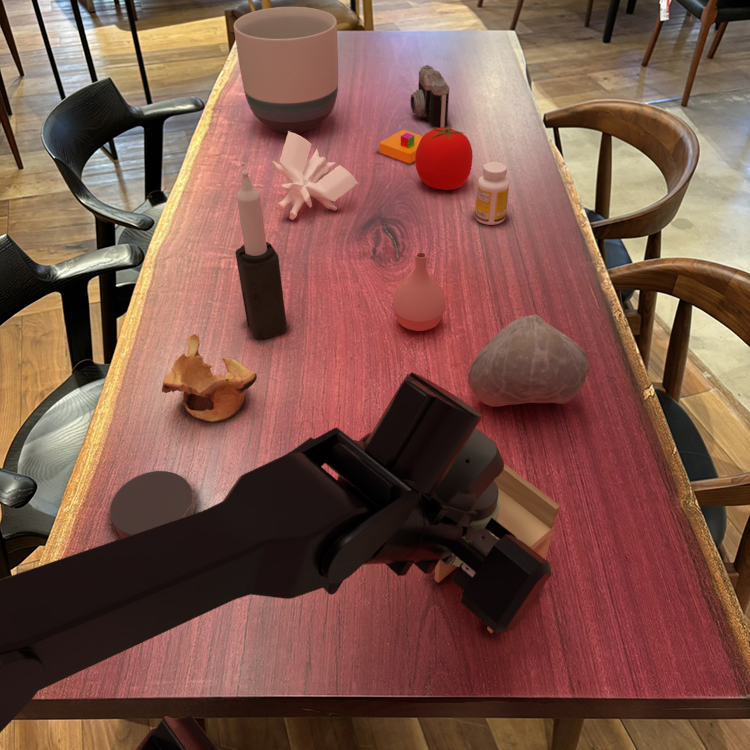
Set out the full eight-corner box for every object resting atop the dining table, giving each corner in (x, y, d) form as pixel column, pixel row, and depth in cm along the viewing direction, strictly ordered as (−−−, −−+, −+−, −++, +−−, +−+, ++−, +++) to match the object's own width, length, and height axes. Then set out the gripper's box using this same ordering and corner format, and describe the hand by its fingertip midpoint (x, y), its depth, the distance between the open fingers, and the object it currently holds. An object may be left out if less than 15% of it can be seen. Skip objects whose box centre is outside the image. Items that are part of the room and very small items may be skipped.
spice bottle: (481, 576, 62) (491, 521, 56) (430, 556, 63) (434, 500, 58) (498, 534, 65) (509, 478, 60) (449, 516, 67) (455, 459, 61)
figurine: (311, 250, 134) (348, 195, 139) (328, 227, 123) (367, 169, 128) (243, 202, 131) (284, 148, 136) (254, 174, 121) (298, 117, 125)
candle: (245, 321, 107) (219, 165, 90) (277, 312, 108) (257, 157, 91) (256, 341, 103) (230, 183, 86) (289, 332, 105) (270, 174, 88)
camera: (403, 104, 165) (404, 59, 158) (431, 101, 166) (433, 56, 159) (419, 131, 154) (421, 84, 147) (449, 128, 155) (452, 81, 148)
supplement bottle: (504, 210, 130) (510, 160, 123) (505, 226, 126) (512, 175, 119) (474, 209, 130) (479, 158, 123) (474, 225, 126) (479, 173, 119)
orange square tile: (379, 152, 147) (378, 132, 144) (403, 139, 151) (403, 119, 148) (409, 164, 143) (410, 143, 140) (433, 150, 148) (434, 130, 145)
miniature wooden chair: (491, 633, 70) (508, 550, 61) (434, 579, 75) (441, 493, 65) (537, 591, 74) (560, 505, 64) (479, 541, 78) (493, 454, 68)
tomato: (455, 203, 132) (459, 148, 124) (405, 189, 136) (406, 134, 128) (480, 179, 138) (485, 125, 131) (431, 167, 142) (434, 113, 135)
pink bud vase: (441, 343, 103) (446, 273, 95) (388, 337, 104) (389, 268, 96) (446, 310, 108) (451, 242, 100) (396, 305, 109) (397, 237, 101)
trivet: (162, 558, 77) (158, 547, 76) (97, 528, 80) (92, 518, 79) (211, 497, 83) (208, 486, 82) (148, 471, 86) (144, 460, 84)
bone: (166, 431, 91) (152, 384, 85) (173, 379, 98) (160, 331, 92) (262, 423, 92) (253, 375, 86) (262, 371, 99) (254, 324, 93)
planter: (234, 142, 151) (217, 35, 136) (266, 104, 166) (254, 4, 151) (327, 151, 148) (320, 42, 133) (351, 111, 162) (347, 9, 147)
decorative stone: (567, 373, 98) (588, 284, 87) (592, 429, 90) (618, 338, 80) (458, 383, 97) (467, 293, 86) (475, 440, 89) (486, 349, 79)
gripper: (558, 506, 45) (617, 515, 58) (359, 362, 55) (448, 396, 68) (463, 649, 46) (542, 625, 59) (286, 482, 56) (387, 493, 69)
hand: (476, 526), depth 64 cm, fingers closed on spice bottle, 5 cm apart
